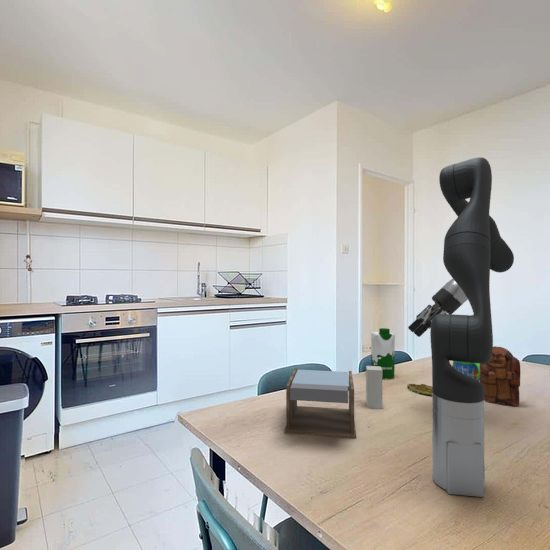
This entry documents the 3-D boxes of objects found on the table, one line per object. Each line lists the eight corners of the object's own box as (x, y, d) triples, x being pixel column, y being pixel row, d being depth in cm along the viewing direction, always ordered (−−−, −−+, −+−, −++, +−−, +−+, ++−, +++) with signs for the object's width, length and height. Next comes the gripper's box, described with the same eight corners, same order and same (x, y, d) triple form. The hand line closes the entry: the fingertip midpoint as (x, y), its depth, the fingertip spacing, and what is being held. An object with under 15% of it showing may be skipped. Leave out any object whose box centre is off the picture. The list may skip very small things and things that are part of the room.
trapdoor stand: (356, 438, 91) (356, 389, 91) (284, 433, 94) (284, 385, 94) (353, 412, 109) (353, 371, 109) (292, 408, 112) (292, 368, 113)
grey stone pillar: (382, 408, 112) (382, 370, 112) (367, 408, 113) (367, 369, 113) (380, 403, 117) (380, 366, 117) (366, 402, 118) (365, 365, 118)
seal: (401, 393, 132) (442, 403, 120) (400, 380, 131) (441, 389, 120) (413, 385, 138) (454, 394, 127) (412, 373, 138) (453, 381, 126)
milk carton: (375, 379, 144) (375, 329, 145) (369, 373, 154) (368, 326, 154) (397, 379, 145) (397, 329, 145) (389, 373, 154) (389, 326, 154)
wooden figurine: (477, 400, 120) (476, 346, 120) (480, 395, 125) (480, 343, 125) (520, 408, 113) (519, 350, 113) (521, 403, 118) (521, 347, 118)
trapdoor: (350, 403, 86) (350, 390, 86) (288, 399, 89) (288, 387, 89) (347, 378, 108) (347, 368, 108) (297, 376, 111) (297, 366, 111)
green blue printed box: (444, 378, 147) (444, 353, 147) (469, 378, 147) (469, 353, 147) (465, 390, 131) (465, 362, 131) (493, 390, 131) (493, 362, 131)
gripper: (436, 286, 118) (400, 320, 119) (450, 287, 104) (408, 327, 105) (454, 302, 117) (416, 337, 119) (470, 306, 103) (427, 345, 105)
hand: (412, 332), depth 112 cm, fingers open, 8 cm apart
